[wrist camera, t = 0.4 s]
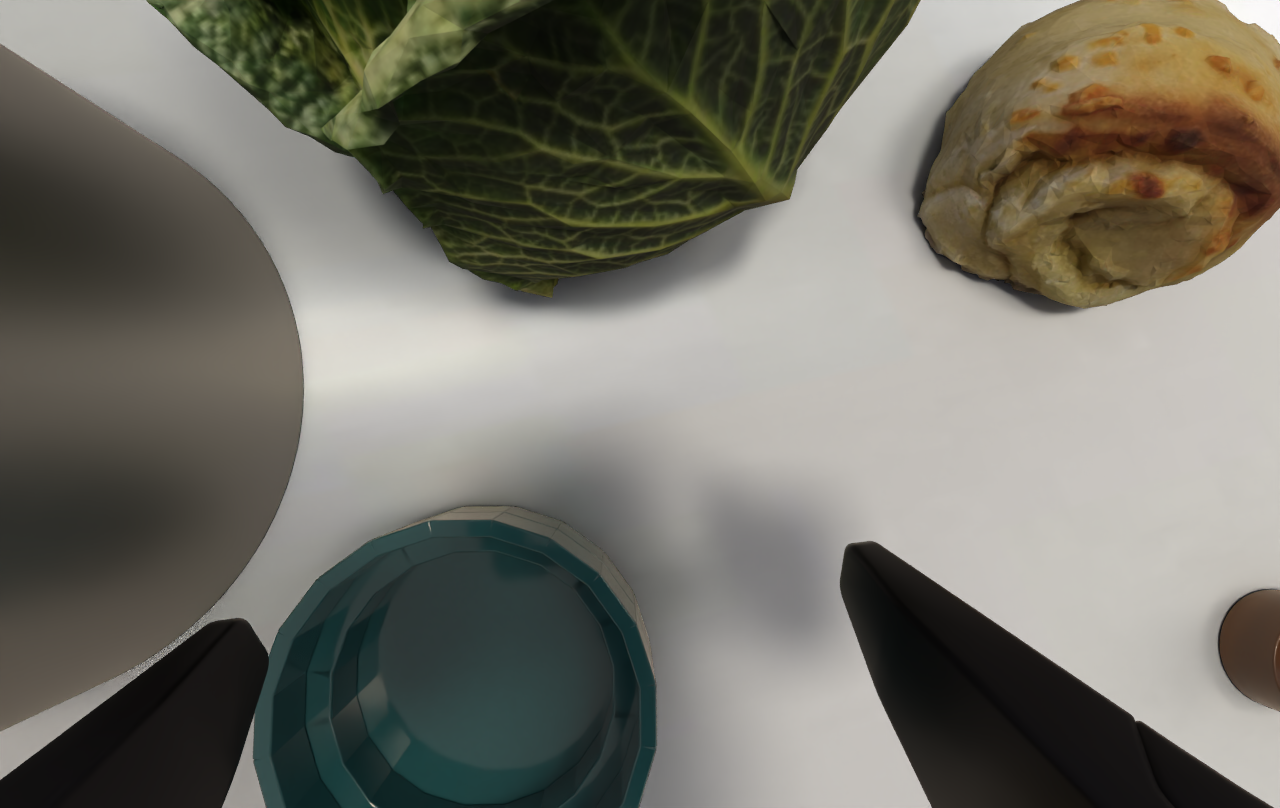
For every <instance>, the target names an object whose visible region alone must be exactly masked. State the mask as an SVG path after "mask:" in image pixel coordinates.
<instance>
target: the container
mask: <svg viewBox="0 0 1280 808" xmlns="http://www.w3.org/2000/svg"><path fill="white" fill-rule="evenodd" d="M302 410H303V368H302V357H301V349H300V343H299V337H298V332H297V328H296V323H295V319H294V315H293V312H292V308H291V305H290V302H289V299H288V296H287V293H286V291H285V288H284V285H283V283H282V281H281V278H280V276H279V274H278V271H277V269H276V267H275V265H274V263H273V262H272V260H271V258H270V256H269V254H268V252H267V251H266V249H265V247H264V246H263V244H262V242H261V241H260V239H259V237H258V236H257V235H256V233H255V232H254V230H253V229H252V227H251V226H250V225H249V223H248V222H247V221H246V219H245V218H244V217H243V216H242V214H241V213H240V212H239V211H238V210H237V209H236V207H235V206H234V205H233V204H232V203H231V202H230V201H229V200H228V198H226V197H225V196H224V195H223V194H222V193H221V192H220V191H219V190H218V189H217V188H216V187H215V186H214V185H213V184H212V183H211V182H209V181H208V180H207V179H206V178H205V177H204V176H203V175H201V174H200V173H199V172H197V171H196V170H195V169H193V168H192V167H191V166H189V165H188V164H187V163H185V162H184V161H182V160H181V159H179V158H178V157H176V156H175V155H173V154H172V153H170V152H169V151H167V150H165V149H164V148H162V147H161V146H159V145H158V144H156V143H154V142H153V141H151V140H150V139H148V138H147V137H145V136H144V135H142V134H140V133H139V132H137V131H136V130H134V129H133V128H131V127H129V126H128V125H126V124H125V123H123V122H122V121H120V120H119V119H117V118H115V117H114V116H112V115H111V114H109V113H108V112H106V111H105V110H103V109H101V108H100V107H98V106H97V105H95V104H94V103H92V102H90V101H89V100H87V99H86V98H84V97H83V96H81V95H80V94H78V93H76V92H75V91H73V90H72V89H70V88H69V87H67V86H65V85H64V84H62V83H61V82H59V81H58V80H56V79H55V78H53V77H51V76H50V75H48V74H47V73H45V72H44V71H42V70H40V69H39V68H37V67H36V66H34V65H33V64H31V63H30V62H28V61H26V60H25V59H23V58H22V57H20V56H19V55H17V54H16V53H14V52H12V51H11V50H9V49H8V48H6V47H5V46H3V45H1V44H0V731H2V730H4V729H6V728H9V727H11V726H13V725H15V724H17V723H19V722H21V721H23V720H26V719H28V718H30V717H32V716H34V715H36V714H38V713H40V712H43V711H45V710H47V709H49V708H51V707H53V706H55V705H57V704H60V703H62V702H64V701H66V700H68V699H70V698H72V697H74V696H77V695H79V694H81V693H83V692H85V691H87V690H89V689H91V688H94V687H96V686H98V685H100V684H102V683H104V682H106V681H108V680H110V679H112V678H114V677H116V676H118V675H120V674H122V673H124V672H126V671H128V670H130V669H132V668H133V667H135V666H137V665H139V664H140V663H142V662H144V661H145V660H147V659H148V658H150V657H151V656H153V655H154V654H156V653H157V652H159V651H160V650H162V649H163V648H165V647H166V646H167V645H169V644H170V643H171V642H173V641H174V640H175V639H177V638H178V637H179V636H180V635H181V634H183V633H184V632H185V631H186V630H188V629H189V628H190V627H191V626H192V625H193V624H194V623H195V622H197V621H198V620H199V619H200V618H201V617H202V616H203V615H204V614H205V613H206V612H207V611H208V610H209V609H210V608H211V607H212V606H213V605H214V604H215V603H216V602H217V601H218V600H219V599H220V598H221V596H222V595H223V594H224V593H225V592H226V590H227V589H228V588H229V587H230V586H231V585H232V583H233V582H234V581H235V579H236V578H237V577H238V576H239V574H240V573H241V572H242V570H243V569H244V568H245V566H246V565H247V563H248V562H249V560H250V559H251V557H252V556H253V554H254V553H255V551H256V549H257V548H258V546H259V544H260V543H261V541H262V539H263V537H264V536H265V534H266V532H267V530H268V528H269V526H270V524H271V522H272V520H273V518H274V516H275V514H276V512H277V509H278V507H279V505H280V502H281V500H282V497H283V495H284V492H285V489H286V486H287V484H288V481H289V477H290V474H291V471H292V467H293V464H294V459H295V455H296V451H297V446H298V441H299V435H300V429H301V420H302Z"/></svg>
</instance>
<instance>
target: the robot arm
mask: <svg viewBox="0 0 1280 808" xmlns="http://www.w3.org/2000/svg"><path fill="white" fill-rule="evenodd" d="M840 590H841V594H842V598H843V601H844V603H845V606H846V609H847V612H848V614H849V617H850V620H851V623H852V625H853V628H854V631H855V634H856V636H857V639H858V642H859V645H860V648H861V650H862V653H863V656H864V659H865V661H866V664H867V667H868V670H869V672H870V675H871V678H872V680H873V683H874V686H875V688H876V691H877V693H878V696H879V698H880V700H881V702H882V705H883V707H884V709H885V711H886V713H887V715H888V717H889V719H890V721H891V724H892V726H893V728H894V730H895V732H896V734H897V736H898V738H899V740H900V742H901V744H902V746H903V748H904V751H905V753H906V755H907V757H908V759H909V761H910V763H911V765H912V767H913V769H914V771H915V773H916V775H917V777H918V780H919V782H920V784H921V786H922V788H923V790H924V792H925V794H926V796H927V798H928V800H929V802H930V804H931V806H932V808H1273V807H1272V806H1270V805H1268V804H1267V803H1265V802H1264V801H1262V800H1260V799H1259V798H1257V797H1256V796H1254V795H1252V794H1251V793H1249V792H1247V791H1246V790H1244V789H1243V788H1241V787H1239V786H1238V785H1236V784H1235V783H1233V782H1232V781H1230V780H1229V779H1227V778H1226V777H1224V776H1223V775H1221V774H1220V773H1218V772H1217V771H1215V770H1214V769H1212V768H1210V767H1209V766H1207V765H1206V764H1204V763H1203V762H1201V761H1200V760H1198V759H1197V758H1195V757H1194V756H1192V755H1191V754H1189V753H1188V752H1186V751H1185V750H1183V749H1181V748H1180V747H1178V746H1177V745H1175V744H1174V743H1173V742H1171V741H1170V740H1168V739H1167V738H1165V737H1164V736H1162V735H1161V734H1159V733H1158V732H1156V731H1155V730H1153V729H1152V728H1150V727H1149V726H1147V725H1146V724H1144V723H1143V722H1141V721H1136V722H1135V720H1134V717H1133V716H1132V715H1131V714H1129V713H1128V712H1126V711H1125V710H1123V709H1122V708H1120V707H1119V706H1117V705H1116V704H1115V703H1113V702H1112V701H1110V700H1109V699H1107V698H1106V697H1104V696H1103V695H1101V694H1100V693H1098V692H1097V691H1095V690H1094V689H1092V688H1091V687H1089V686H1088V685H1086V684H1085V683H1083V682H1082V681H1081V680H1079V679H1078V678H1076V677H1075V676H1073V675H1072V674H1070V673H1069V672H1067V671H1066V670H1064V669H1063V668H1061V667H1060V666H1058V665H1057V664H1055V663H1054V662H1052V661H1051V660H1050V659H1048V658H1047V657H1045V656H1044V655H1042V654H1041V653H1039V652H1038V651H1036V650H1035V649H1033V648H1032V647H1030V646H1029V645H1027V644H1026V643H1024V642H1023V641H1021V640H1020V639H1018V638H1017V637H1016V636H1014V635H1013V634H1011V633H1010V632H1008V631H1007V630H1005V629H1004V628H1002V627H1001V626H999V625H998V624H996V623H995V622H993V621H992V620H990V619H989V618H987V617H986V616H984V615H983V614H982V613H980V612H979V611H977V610H976V609H974V608H973V607H971V606H970V605H968V604H967V603H965V602H964V601H962V600H961V599H959V598H958V597H956V596H955V595H953V594H952V593H951V592H949V591H948V590H946V589H945V588H943V587H942V586H940V585H939V584H937V583H936V582H934V581H933V580H931V579H930V578H928V577H927V576H925V575H924V574H922V573H921V572H919V571H918V570H917V569H915V568H914V567H912V566H911V565H909V564H908V563H906V562H905V561H903V560H902V559H900V558H899V557H897V556H896V555H894V554H893V553H891V552H890V551H888V550H887V549H885V548H884V547H883V546H881V545H880V544H878V543H876V542H873V541H867V542H858V543H851V544H848V545H847V547H846V548H845V551H844V558H843V564H842V570H841V577H840ZM268 666H269V657H268V653H267V651H266V649H265V647H264V646H263V644H262V643H261V641H260V640H259V638H258V636H257V635H256V633H255V632H254V630H253V629H252V627H251V625H250V624H249V623H248V621H246V620H244V619H242V618H235V619H227V620H219V621H214V622H211V623H209V624H207V625H206V626H204V627H203V628H202V629H200V630H199V631H198V632H196V633H195V634H194V635H192V636H191V637H190V638H188V639H187V640H186V641H184V642H183V643H182V644H180V645H179V646H178V647H176V648H175V649H174V650H172V651H171V652H170V653H168V654H167V655H166V656H164V657H163V658H162V659H161V660H159V661H158V662H157V663H155V664H154V665H153V666H151V667H150V668H149V669H147V670H146V671H145V672H143V673H142V674H141V675H139V676H138V677H137V678H135V679H134V680H133V681H131V682H130V683H129V684H127V685H126V686H125V687H123V688H122V689H121V690H119V691H118V692H117V693H115V694H114V695H113V696H111V697H110V698H109V699H107V700H106V701H105V702H103V703H102V704H101V705H99V706H98V707H97V708H95V709H94V710H93V711H91V712H90V713H89V714H87V715H86V716H85V717H83V718H82V719H81V720H80V721H78V722H77V723H76V724H74V725H73V726H72V727H70V728H69V729H68V730H66V731H65V732H64V733H62V734H61V735H60V736H58V737H57V738H56V739H54V740H53V741H52V742H50V743H49V744H48V745H46V746H45V747H44V748H42V749H41V750H40V751H38V752H37V753H36V754H34V755H33V756H32V757H30V758H29V759H28V760H26V761H25V762H24V763H22V764H21V765H20V766H18V767H17V768H16V769H14V770H13V771H12V772H10V773H9V774H8V775H6V776H5V777H4V778H3V779H1V780H0V808H222V806H223V803H224V801H225V798H226V796H227V793H228V791H229V788H230V786H231V783H232V780H233V777H234V774H235V772H236V769H237V766H238V763H239V760H240V757H241V754H242V751H243V747H244V744H245V741H246V738H247V735H248V732H249V728H250V725H251V722H252V719H253V716H254V713H255V709H256V706H257V703H258V700H259V697H260V694H261V690H262V687H263V684H264V681H265V678H266V675H267V671H268Z"/></svg>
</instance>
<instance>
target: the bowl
mask: <svg viewBox="0 0 1280 808" xmlns="http://www.w3.org/2000/svg"><path fill="white" fill-rule="evenodd" d="M278 631H279V632H278V633H277V635H276V638H275V641H274V643H273V646H272V649H271V652H270V655H269V666H268V671H267V675H266V678H265V681H264V684H263V687H262V690H261V694H260V697H259V700H258V703H257V706H256V709H255V716H254V742H253V759H254V761H253V763H254V766H255V770H256V773H257V777H258V780H259V784H260V787H261V791H262V794H263V798H264V801H265V805H266V808H639V806H640V802H641V799H642V796H643V792H644V789H645V786H646V782H647V779H648V776H649V772H650V769H651V766H652V762H653V759H654V756H655V752H656V746H657V699H656V679H655V673H654V666H653V659H652V653H651V646H650V640H649V637H648V634H647V631H646V628H645V625H644V622H643V619H642V616H641V613H640V610H639V606H638V603H637V600H636V597H635V594H634V593H633V590H632V589H631V588H630V586H629V585H628V584H627V582H626V581H625V579H624V578H623V577H622V575H621V574H620V573H619V571H618V570H617V568H616V567H615V566H614V564H613V563H612V562H611V560H610V559H609V557H608V556H607V555H606V553H605V552H603V550H602V549H600V548H599V547H598V546H596V545H595V544H593V543H592V542H591V541H589V540H588V539H587V538H585V537H584V536H582V535H581V534H580V533H578V532H577V531H575V530H574V529H573V528H571V527H570V526H568V525H567V524H566V523H564V522H562V521H561V520H557V519H554V518H551V517H548V516H545V515H542V514H538V513H535V512H532V511H529V510H526V509H522V508H519V507H516V506H514V507H513V506H464V507H459V508H456V509H453V510H450V511H447V512H444V513H441V514H438V515H435V516H432V517H429V518H426V519H423V520H420V521H417V522H414V523H412V524H409V525H407V526H404V527H402V528H399V529H397V530H394V531H392V532H389V533H387V534H384V535H382V536H379V537H377V538H374V539H372V540H371V541H368V542H367V543H365V544H364V545H363V546H361V547H360V548H359V549H357V550H356V551H354V552H353V553H352V554H350V555H349V556H347V557H346V558H345V559H343V560H342V561H341V562H339V563H338V564H336V565H335V566H334V567H332V568H331V569H330V570H328V571H327V572H325V573H324V574H323V575H321V576H320V577H319V578H318V579H317V580H316V581H315V582H314V583H313V585H312V586H311V587H310V589H309V590H308V591H307V593H306V594H305V595H304V597H303V598H302V599H301V601H300V602H299V603H298V605H297V606H296V607H295V609H294V610H293V611H292V613H291V614H290V615H289V617H288V618H287V619H286V621H285V622H284V623H283V625H282V626H281V627H280V629H279V630H278Z"/></svg>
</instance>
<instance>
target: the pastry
mask: <svg viewBox="0 0 1280 808" xmlns="http://www.w3.org/2000/svg"><path fill="white" fill-rule="evenodd" d="M922 194H923V196H924V200H923V202H922V205H921V208H920V211H919V214H918V215H917V216H918V217H920V218H921V219H922V222H923V224H924V225H925V226H926V228H927V229H926V231H925V238H926V239H927V240H928V241H929V243H930V244H931V248H933V249H934V250H935V251H936V253H938V254H942V255H943V256H946V257H947V258H949V259H950V260H952V261H953V262H956V263H958V264H960V265H961V266H962V267H961V269H962V270H963V271H966V272H969V273H973V274H977V275H979V278H982V279H985V280H991V279H995V280H998V281H999V280H1004V281H1005V283H1010V284H1011V286H1012V288H1013V289H1015V290H1019V291H1023V292H1028V293H1034V294H1040V295H1045V296H1046V297H1048V298H1049V299H1052V300H1054V301H1057V302H1060V303H1063V304H1066V305H1071V306H1076V307H1081V308H1090V307H1097V306H1107V304H1111V303H1114V302H1116V301H1120V300H1123V299H1126V298H1129V297H1132V296H1135V295H1137V294H1140V293H1142V292H1145V291H1147V290H1151V289H1155V288H1158V287H1163V286H1169V285H1176V284H1178V283H1180V282H1182V281H1188V280H1190V279H1192V278H1194V277H1195V276H1197V275H1199V274H1202V273H1204V272H1205V271H1207V270H1208V269H1210V268H1212V267H1214V266H1216V265H1218V264H1219V263H1221V262H1222V261H1224V260H1225V259H1227V258H1228V257H1230V256H1231V255H1232V254H1234V253H1235V252H1236V251H1237V250H1238V249H1239V248H1241V247H1242V246H1243V244H1244V243H1245V242H1246V241H1247V240H1248V239H1249V238H1250V237H1251V236H1252V234H1253V233H1255V232H1256V231H1257V230H1258V229H1259V228H1260V227H1261V226H1262V225H1263V224H1264V223H1265V222H1266V221H1267V220H1269V219H1270V218H1271V217H1272V216H1273V214H1274V213H1275V212H1276V211H1277V210H1278V209H1279V208H1280V44H1279V43H1278V41H1277V40H1276V39H1275V37H1274V36H1273V35H1270V34H1269V33H1267V32H1266V31H1265V30H1263V29H1262V28H1261V27H1259V26H1258V25H1257V24H1255V23H1254V24H1246V23H1244V22H1242V21H1240V20H1238V19H1237V18H1236V17H1235V16H1234V15H1233V14H1232V13H1231V12H1229V10H1228V9H1227V7H1226V5H1225V4H1223V3H1221V2H1219V1H1218V0H1080V1H1077V2H1075V3H1072V4H1070V5H1067V6H1065V7H1062V8H1060V9H1057V10H1055V11H1053V12H1051V13H1049V14H1047V15H1046V16H1044V17H1042V18H1040V19H1038V20H1036V21H1034V22H1032V23H1027V24H1025V25H1023V26H1021V27H1020V28H1019V29H1018V30H1017V31H1016V32H1015V33H1014V34H1013V35H1012V36H1011V37H1010V38H1009V39H1008V40H1007V41H1006V42H1005V43H1004V44H1003V45H1002V46H1001V47H1000V48H999V49H998V50H997V51H996V52H995V53H994V54H993V56H992V57H991V58H990V59H989V60H988V61H987V62H986V63H985V64H984V65H983V66H982V67H981V68H980V69H979V70H977V71H976V72H975V73H974V75H973V76H972V78H971V79H970V81H969V83H968V86H967V88H966V90H965V91H964V92H963V93H962V94H961V95H960V96H959V98H958V99H957V100H956V102H955V103H954V105H953V106H952V108H950V109H949V110H948V111H947V112H946V119H945V127H944V134H943V139H942V146H941V151H940V153H939V155H938V156H937V158H936V159H935V161H934V163H933V165H932V167H931V170H930V173H929V177H928V180H927V185H926V191H925V190H924V192H922Z"/></svg>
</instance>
